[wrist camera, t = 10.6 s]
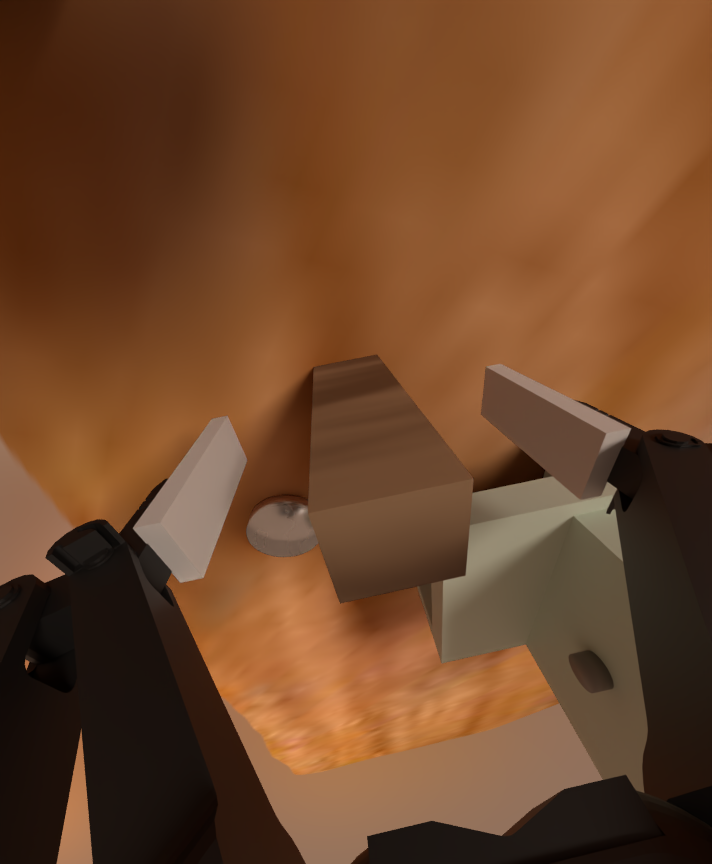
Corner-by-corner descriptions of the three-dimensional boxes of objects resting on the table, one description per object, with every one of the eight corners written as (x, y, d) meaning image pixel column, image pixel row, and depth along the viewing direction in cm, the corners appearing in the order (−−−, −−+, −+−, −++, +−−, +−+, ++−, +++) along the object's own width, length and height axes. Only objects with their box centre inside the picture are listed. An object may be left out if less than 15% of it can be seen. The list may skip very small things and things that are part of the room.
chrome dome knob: (244, 494, 21) (239, 509, 20) (320, 489, 22) (321, 502, 21) (256, 545, 24) (253, 560, 23) (323, 539, 25) (324, 553, 24)
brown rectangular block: (313, 367, 17) (308, 513, 6) (377, 354, 17) (474, 478, 6) (358, 549, 26) (386, 731, 15) (399, 540, 26) (454, 715, 16)
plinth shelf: (401, 444, 20) (577, 797, 7) (578, 409, 21) (1099, 670, 7) (411, 569, 28) (500, 844, 15) (539, 542, 29) (742, 785, 15)
